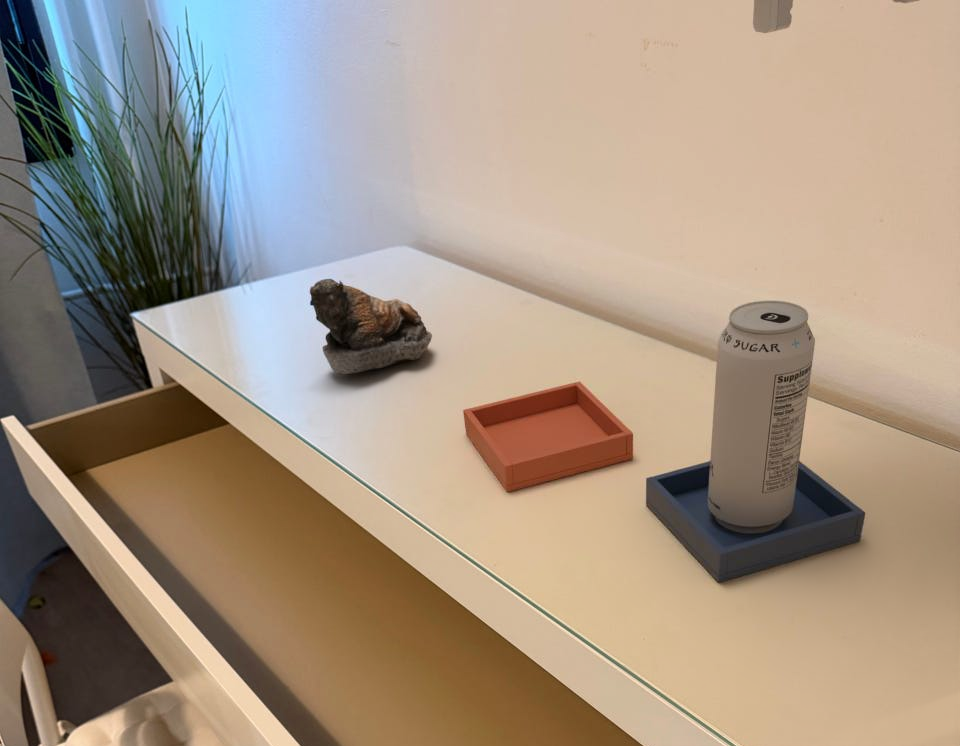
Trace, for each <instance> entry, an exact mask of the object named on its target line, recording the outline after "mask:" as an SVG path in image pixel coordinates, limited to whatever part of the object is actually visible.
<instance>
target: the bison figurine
mask: <svg viewBox="0 0 960 746" xmlns="http://www.w3.org/2000/svg"><path fill="white" fill-rule="evenodd" d="M309 294H310V301H309V305H310V306H313V309H314V313H315V315H316V316H315V319H316V321H317V322H319V323H320V324H322V325H323V326H324V327H325V328H327V329H328V330H329V332H328V333H326V335H325V341H326V344H325V345H323V346H322V352H323V355H324V357H325V358H326V360H327V363H328V364H329V366H330V368H331V370H332V371H333V372H334V373H336V374H340V375H351V374H358V373H363V372H367V371H372V370H379V369H383V368H386V367H389V366H392V365H396V364H399V363H402V362H406V361H411V360H412V361H415V360H418V359H419V358H420V357H421V356H422V355H423V354H424V352H425V351H426V350H427V348H429V345H430V343H431V341H432V339H433V334H432V333H431V331H428V330H427V327H426V326H425V323H424V322H423V320H422V317H421V316H420V314H419V312H418V311H417V310H416V309H414V308H413V307H412V305H411V304H409V303H408V302H404V301H402V300H400V299H398V298H394V299H390V300H382V299H380V298H379V297H375V296H372V295H369V294H368V293H367V292H364V291H363V290H360V289H359V288H356V287H354V286H350V285H345V284H344V283H343V282H342V281H341V280H339V282H338V281H336V280H334V279H332V278H325V279H321V280H319V281H317V282H315V283H314V285H313V286H310V288H309Z"/></svg>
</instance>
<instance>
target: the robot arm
mask: <svg viewBox="0 0 960 746" xmlns="http://www.w3.org/2000/svg"><path fill="white" fill-rule="evenodd" d="M919 1H920V0H892V2H894V3H901V4H909V3H914V2H919ZM793 4H794V0H753V13H752V14H753V16H752V17H753V18H752V25H753V26H752V27H753V29H754V31H755V32H757V33H762V34H768V33H769V34H770V33H773V32H777V31H781V30H786V29H789V28H790V27H791V24H792V18H793V16H792V13H791V10H792V8H793V6H794V5H793Z"/></svg>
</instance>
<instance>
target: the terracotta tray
mask: <svg viewBox="0 0 960 746" xmlns="http://www.w3.org/2000/svg"><path fill="white" fill-rule="evenodd" d="M462 413H463V421H464V428H465V435H466V436H467V437H468V439H469V440H470V441H471V443H472V445H473V446H474V448H475V449H476V450H477V452H478V453H479V454H480V456H481V457H482V458H483V460H484V461H485V462H486V465H488V467H489V468H490V469H491V471H492V472H493V474H494V475H495V477H496V478H497V479H498V481H499V482H500V484H501V485H502V487H503V488H504V489H505V491H506V492H507V493H509V492H513V491H517V490H520V489H524V488H528V487H532V486H536V485H539V484H540V485H541V484H544V483H547V482H551V481H555V480H559V479H563V478H566V477H569V476H573V475H577V474H581V473H585V472H589V471H592V470H597V469H600V468H603V467H607V466H611V465H615V464H619V463H622V462H626V461H630V460H633V459H634V432H632V431H631V430H630V429H629V427H627V425H625V424H624V423H623V422H622V421H621V420H620V419H619V418H618V417H617V416H616V415H615V414H614V413H613V412H612V411H611V410H610V409H609V408H608V407H606V405H605V404H603V402H601V401H600V400H599V398H597V397H596V396H595V394H593V393H592V392H591V391H590V390H589V389H588V388H587V387H586V386H585V384H583V383H582V382H581V381H576V382H571V383H566V384H564V385H563V384H562V385H559V386H555V387H551V388H547V389H543V390H539V391H535V392H531V393H527V394H526V393H525V394H522V395H519V396H514V397H511V398H507V399H502V400H498V401H493V402H490V403H486V404H482V405H478V406H473V407H470V408H465V409H463V410H462Z"/></svg>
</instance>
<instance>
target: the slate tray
mask: <svg viewBox="0 0 960 746" xmlns="http://www.w3.org/2000/svg"><path fill="white" fill-rule="evenodd" d="M709 473H710V460H708V461H706V462H702V463H698V464H694V465H690V466H687V467H683V468H680V469H675V470H672V471H668V472H664V473H661V474H660V473H659V474H657V475H654V476H653V475H652V476H649V477H646V478H645V506H647V508H648V509H649V510H650V511H651V512H652V513H653V514H654V515H655V517H657V518H658V519H659V521H661V523H662V524H663V525H664V526H665V527H666V528H667V529H668V530H669V531H670V532H671V533H672V534H673V536H674V537H675V538H676V539H677V540H678V541H679V542H680V543H681V544H682V546H684V547H685V548H686V549H687V551H688V552H689V553H690V554H691V555H692V556H693V557H694V559H696V560H697V562H698V563H699V564H700V565H701V566H702V567H703V568H704V569H705V570H706V571H707V573H709V575H710V576H711V577H713V579H714V580H715V581H716V582H717V583H722V582H726V581H730V580H732V579H737V578H740V577H743V576H746V575H749V574H753V573H757V572H760V571H763V570H766V569H769V568H770V569H771V568H773V567H776V566H780V565H783V564H786V563H790V562H793V561H796V560H800V559H803V558H807V557H810V556H814V555H817V554H820V553H824V552H828V551H830V550H834V549H837V548H841V547H844V546H847V545H848V546H849V545H851V544H854V543H859V542H860V541H861V538H862V533H863V528H864V523H865V517H866V512H865V511H864V509H862V508H861V507H859V506H858V505H857V504H855V503H854V502H853V501H851V500H850V499H849V498H847V497H846V496H845V495H844V494H843V493H841V492H840V491H839V490H837V489H836V488H835V487H834V486H833V485H831V484H830V483H829V482H827V481H826V480H825V479H823V478H822V477H820V475H818V474H817V473H815V471H813V470H812V469H811V468H810V467H808V466H807V465H805V464H804V463H803V462H801V461H800V460H799V466H798V473H797V481H796V488H795V495H794V503H793V509H792V511H791V513H790V514H789V515H788V516H787V517H786V518H785V519H783V521H782V523H781V524H780V525H779V526H777V527H776V528H774V529H772V530H770V531H767V532H763V533H754V534H748V533H739V532H735V531H732V530H729V529H727V528H725V527H723V526H722V525H720V524H719V523H718V522H717V520H716V519H715V516H714V515H713V513H712V512H711V511H710V509H709V508H708V489H709Z"/></svg>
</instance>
